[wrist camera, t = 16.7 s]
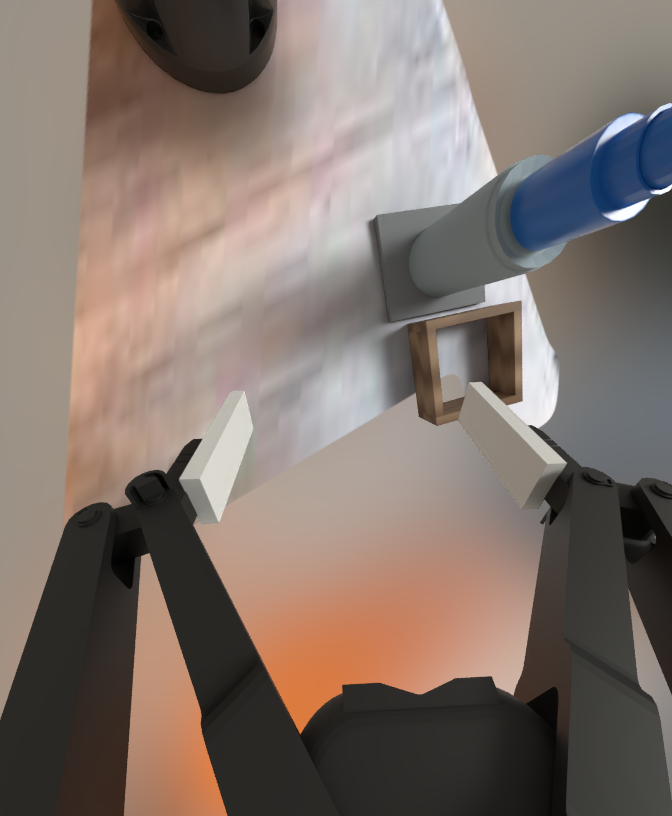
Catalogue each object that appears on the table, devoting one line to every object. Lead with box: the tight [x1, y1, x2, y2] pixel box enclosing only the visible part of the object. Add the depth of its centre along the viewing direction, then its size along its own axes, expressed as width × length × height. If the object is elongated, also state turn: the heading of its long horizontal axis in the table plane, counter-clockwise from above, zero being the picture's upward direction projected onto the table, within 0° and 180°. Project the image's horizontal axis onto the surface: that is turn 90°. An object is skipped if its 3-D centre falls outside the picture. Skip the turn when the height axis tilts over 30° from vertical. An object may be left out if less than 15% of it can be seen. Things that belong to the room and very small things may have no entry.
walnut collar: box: [408, 301, 522, 426], centre depth 40 cm, size 14×14×5 cm
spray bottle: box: [409, 103, 672, 297], centre depth 25 cm, size 9×9×25 cm
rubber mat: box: [374, 203, 485, 322], centre depth 37 cm, size 13×15×1 cm
